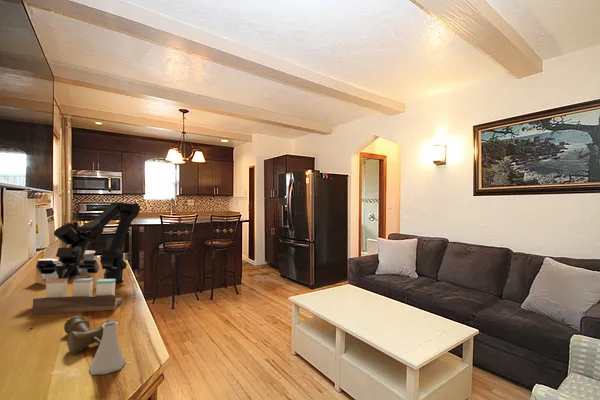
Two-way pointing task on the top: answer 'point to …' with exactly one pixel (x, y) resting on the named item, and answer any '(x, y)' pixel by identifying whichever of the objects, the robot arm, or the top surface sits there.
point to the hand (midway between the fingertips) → (59, 286)
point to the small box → (44, 277)
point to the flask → (108, 352)
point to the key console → (75, 304)
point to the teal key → (105, 287)
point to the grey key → (83, 286)
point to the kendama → (81, 334)
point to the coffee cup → (87, 256)
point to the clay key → (56, 288)
